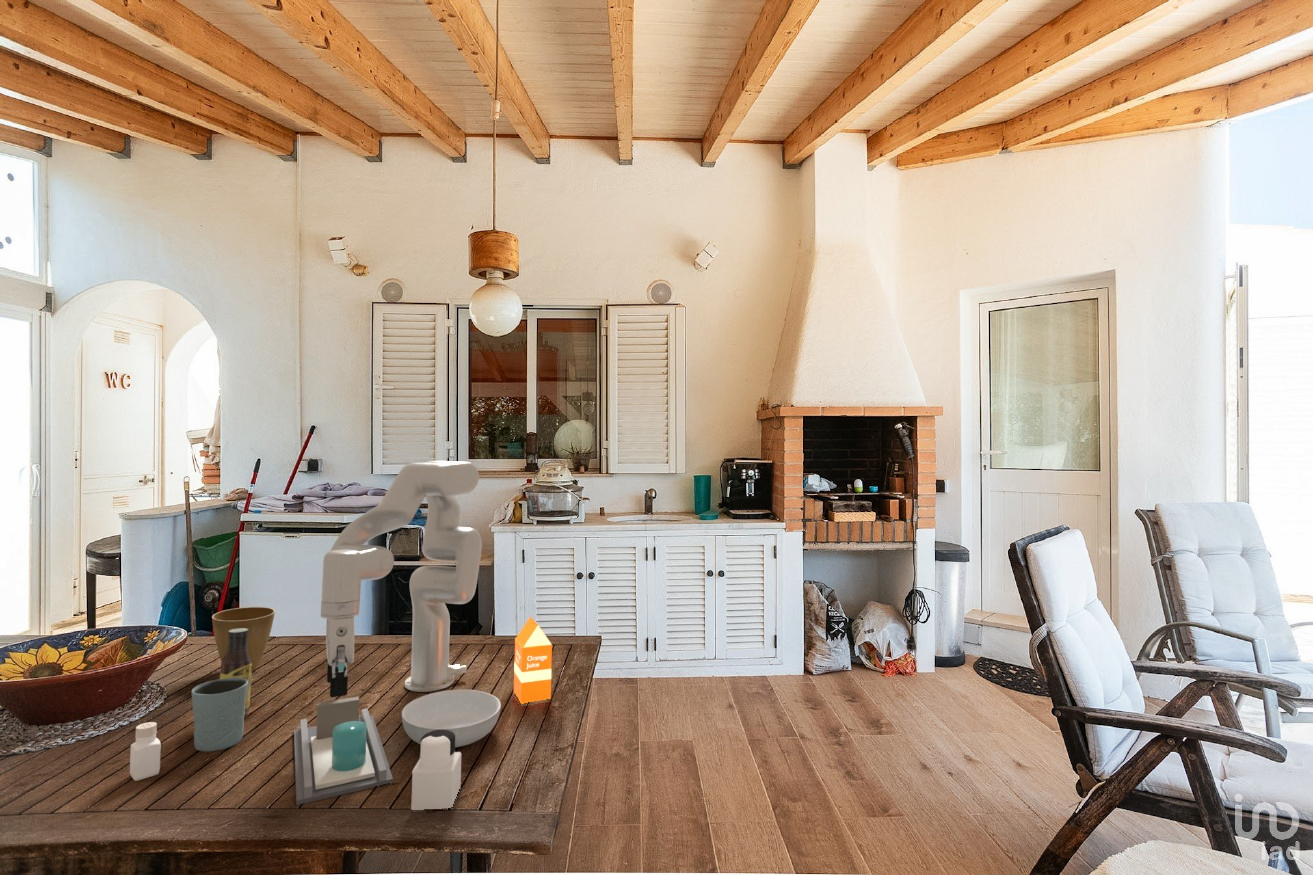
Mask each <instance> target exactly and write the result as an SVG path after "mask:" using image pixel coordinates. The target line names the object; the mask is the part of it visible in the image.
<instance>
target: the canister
mask: <svg viewBox="0 0 1313 875" xmlns="http://www.w3.org/2000/svg"><path fill="white" fill-rule="evenodd" d="M366 731H367V724H366V723H365V722H362V721H350V722H345V723H342V724H339V725H337V726H335V727H334V728H333V738H332V769H333V770H336V771H349V770H354V769H356V768H359V767H361V766H362V765H363V764H364V763H365V762H366Z"/></svg>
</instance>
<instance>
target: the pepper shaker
mask: <svg viewBox="0 0 1313 875" xmlns="http://www.w3.org/2000/svg"><path fill="white" fill-rule="evenodd" d="M157 726H158V723H157V722H156V721H149V722H144V723H141V724H138V725H137V726H135V742H133V743H132V744H131V745H130V752H129V753H130V755H129V774H130V776H131V778H132V779H133V780H134V781H135V782H136V781H137V782H138V781H141V780H144V779H149V778H150V777H154V776H157V775H158V774H159V773H160V771H161V770H160V769H161V747H162V744H161V741H160V739H159V738H157V733H158V732H157Z"/></svg>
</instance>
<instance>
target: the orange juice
mask: <svg viewBox="0 0 1313 875" xmlns="http://www.w3.org/2000/svg"><path fill="white" fill-rule="evenodd" d="M552 654H553V644H552V643H551V641H550V640H549V639H548V637H547V636H546V634H545V633H544V631H543V629H542V628H541V627H540V625H539V624H538V623H537V622H536V621H535V620H534V619H533V618H532V617H531V616H529V618H528V619H527V621H526V622H525V624H524V625H523V627H522V628H521V630H520V631H519V633H518V635H517V636H516V637H515V638H514V668H513V670H514V671H513V672H514V674H513V675H514V676H513V677H514V678H513V694H514V693H515V694H516V696H517V697H518V699H519V701H520V703H521V704H524V703H528V702H534V701H541V700H546V699H551V698H552V697H551V696H552V663H553V662H552Z"/></svg>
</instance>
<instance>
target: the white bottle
mask: <svg viewBox="0 0 1313 875" xmlns="http://www.w3.org/2000/svg"><path fill="white" fill-rule="evenodd" d="M419 745H420V746H419V747H420V748H419V750H420V751H419V759H418V761H417V763H416V764H415V766H414V768H413V769H412V771H411V791H410V792H411V795H410V796H411V797H410V798H411V799H410V802H411V803H410V811H411V810H424V809H442V808H443V809H444V808H451V807H454V806H453V804H454V805H455V803H454V801H455V799H456V800H457V798H458V796H457V794H458V792H459V793H460V791H459V789H460V790H461V786H462V785H461V782H462V779H461V777H462V753H461V751H456V747H455V734H454V733H453V732H452V731H449V730H443V729H440V730H434V731H431V732H428V733H426V734H425V735H424V736H423V737H422V738H421V740H420V744H419ZM458 795H459V794H458ZM456 797H457V798H456ZM455 802H456V801H455Z"/></svg>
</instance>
